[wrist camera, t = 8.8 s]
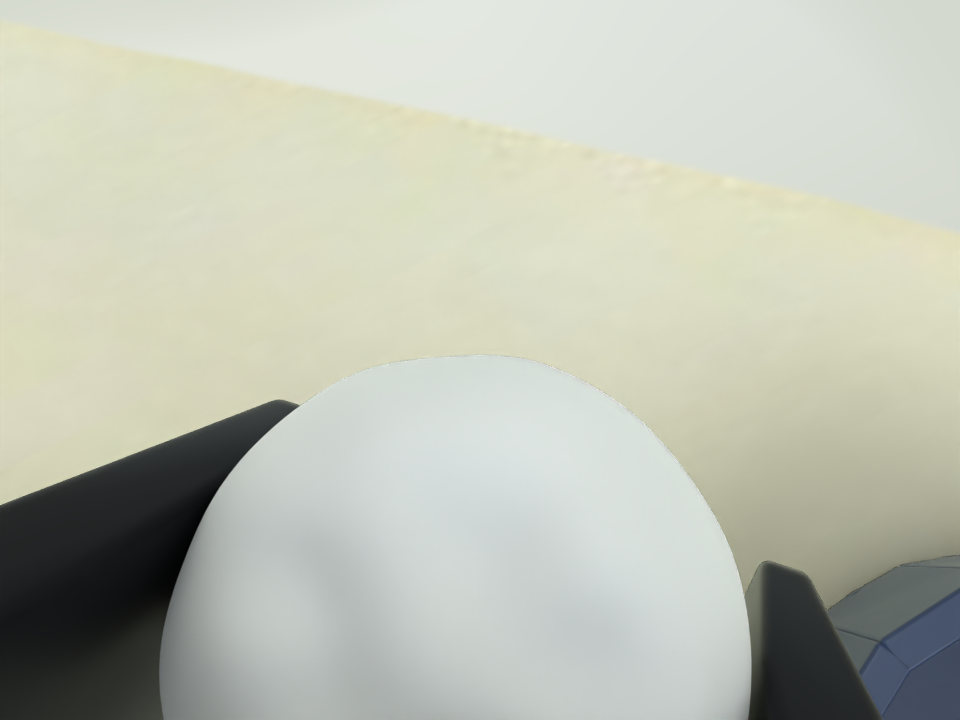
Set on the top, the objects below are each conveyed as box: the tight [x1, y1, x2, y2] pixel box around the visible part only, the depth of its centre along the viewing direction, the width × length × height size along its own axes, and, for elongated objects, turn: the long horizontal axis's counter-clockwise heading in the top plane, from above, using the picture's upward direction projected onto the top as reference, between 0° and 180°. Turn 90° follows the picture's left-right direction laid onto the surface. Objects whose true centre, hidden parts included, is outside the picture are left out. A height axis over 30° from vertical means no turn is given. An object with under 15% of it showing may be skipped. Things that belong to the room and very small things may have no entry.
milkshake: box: [159, 355, 751, 720], centre depth 10 cm, size 4×5×10 cm
